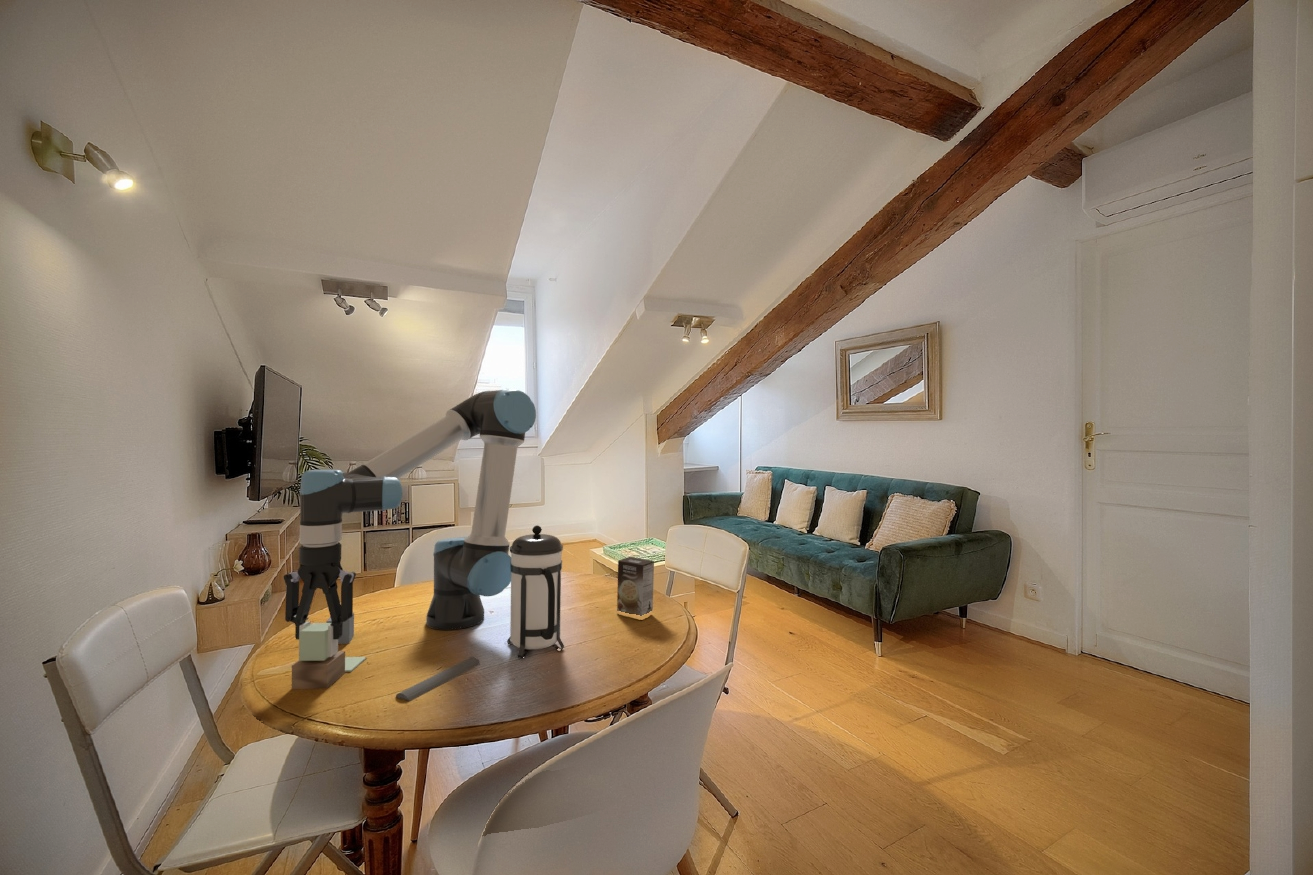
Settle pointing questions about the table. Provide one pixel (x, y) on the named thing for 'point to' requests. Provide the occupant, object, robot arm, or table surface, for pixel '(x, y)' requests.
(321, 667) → the walnut base
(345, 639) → the gray block
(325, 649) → the sage block
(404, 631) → the table surface
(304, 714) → the table surface
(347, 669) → the tile
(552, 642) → the coffee press
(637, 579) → the coffee box
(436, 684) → the slim gray ramp strip
